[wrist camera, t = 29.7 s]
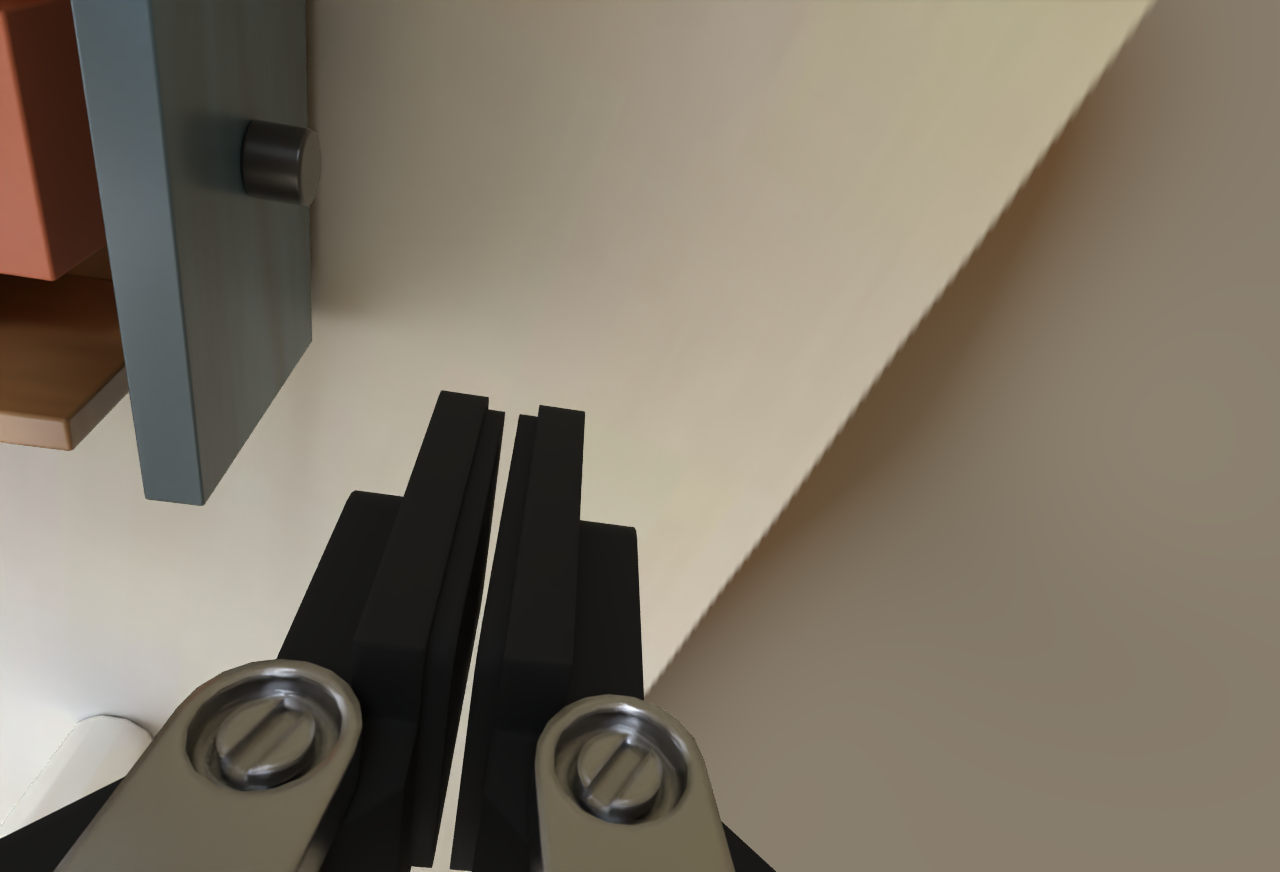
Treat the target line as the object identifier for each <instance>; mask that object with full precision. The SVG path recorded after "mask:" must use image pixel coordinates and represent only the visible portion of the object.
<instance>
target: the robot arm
mask: <svg viewBox="0 0 1280 872" xmlns="http://www.w3.org/2000/svg"><path fill="white" fill-rule="evenodd" d="M488 404H489V397H483V396H476V395H470V394H463V393H456V392H449V391H441V392H440V395H439V397H438V400H437V403H436V406H435V409H434V412H433V414H432V417H431V420H430V423H429V426H428V429H427V431H426V434H425V437H424V440H423V443H422V446H421V449H420V451H419V454H418V457H417V460H416V463H415V466H414V468H413V471H412V474H411V477H410V480H409V483H408V485H407V488H406V491H405V494H404V497H401V496H393V495H386V494H378V493H371V492H363V491H356V490H355V491H354V492H352V493H351V494H350V496H349V498H348V500H347V502H346V504H345V506H344V508H343V511H342V513H341V515H340V517H339V520H338V522H337V524H336V526H335V529H334V531H333V533H332V535H331V538H330V540H329V542H328V544H327V546H326V549H325V551H324V553H323V555H322V558H321V560H320V562H319V564H318V567H317V569H316V571H315V573H314V576H313V578H312V580H311V582H310V585H309V587H308V589H307V591H306V594H305V596H304V598H303V600H302V603H301V605H300V607H299V609H298V612H297V614H296V616H295V618H294V621H293V623H292V625H291V627H290V630H289V632H288V634H287V636H286V639H285V641H284V643H283V645H282V648H281V650H280V652H279V654H278V657H277V659H275V660H266V661H258V662H251V663H248V664H245V665H242V666H239V667H236V668H233V669H230V670H227V671H224V672H222V673H221V674H219V675H217V676H216V677H214V678H212V679H211V680H209V681H207V682H206V683H204V684H202V685H201V686H199V687H197V688H196V689H195V690H194V691H193V692H192V693H191V694H190V695H189V696H188V697H187V698H186V699H185V700H184V701H183V702H182V703H181V704H180V705H179V706H178V707H177V709H176V710H175V711H174V713H173V714H172V715H171V716H170V718H169V719H168V720H167V722H166V723H165V724H164V726H163V727H162V728H161V730H160V731H159V732H158V734H157V735H156V736H155V738H154V739H153V740H152V742H151V743H150V744H149V746H148V747H147V748H146V750H145V751H144V752H143V754H142V755H141V756H140V757H139V759H138V760H137V761H136V763H135V764H134V765H133V767H132V768H131V769H130V771H129V772H128V773H127V775H126V776H125V777H123V778H121V779H119V780H117V781H115V782H113V783H111V784H109V785H107V786H105V787H103V788H101V789H99V790H97V791H95V792H93V793H91V794H89V795H87V796H85V797H83V798H81V799H79V800H77V801H75V802H73V803H71V804H69V805H67V806H65V807H63V808H61V809H59V810H57V811H55V812H53V813H51V814H49V815H47V816H45V817H43V818H41V819H39V820H36V821H34V822H32V823H30V824H28V825H26V826H24V827H22V828H20V829H18V830H16V831H14V832H12V833H10V834H8V835H6V836H4V837H2V838H0V872H410V870H411V866H414V867H427V868H432V865H433V861H434V856H435V851H436V845H437V840H438V835H439V829H440V824H441V818H442V813H443V808H444V802H445V797H446V791H447V786H448V781H449V775H450V770H451V764H452V759H453V754H454V748H455V743H456V738H457V732H458V727H459V721H460V716H461V711H462V705H463V700H464V694H465V689H466V684H467V678H468V673H469V667H470V662H471V657H472V651H473V646H474V640H475V635H476V630H477V624H478V619H479V613H480V608H481V601H482V595H483V588H484V580H485V572H486V564H487V556H488V548H489V540H490V532H491V524H492V516H493V508H494V500H495V492H496V484H497V476H498V468H499V459H500V451H501V443H502V435H503V427H504V419H505V412H501V411H495V410H488ZM584 424H585V412H584V411H577V410H571V409H564V408H557V407H550V406H544V405H540V406H539V412H538V417H535V416H529V415H522V414H520V415H519V420H518V426H517V432H516V437H515V443H514V448H513V454H512V460H511V465H510V471H509V476H508V482H507V487H506V493H505V499H504V504H503V510H502V515H501V521H500V527H499V532H498V538H497V543H496V549H495V554H494V560H493V566H492V571H491V577H490V582H489V588H488V594H487V599H486V605H485V610H484V616H483V622H482V627H481V633H480V639H479V645H478V652H477V658H476V665H475V672H474V680H473V687H472V695H471V703H470V711H469V719H468V727H467V735H466V743H465V751H464V759H463V767H462V775H461V783H460V791H459V799H458V807H457V815H456V823H455V831H454V839H453V847H452V855H451V863H450V869H452V870H464V871H472V872H776V871H775V870H774V869H773V868H772V867H770V866H769V865H768V864H767V863H766V862H765V861H764V860H763V859H762V858H761V857H760V856H759V855H757V854H756V853H755V852H754V851H753V850H752V849H751V848H750V847H749V846H748V845H747V844H745V843H744V842H743V841H742V840H741V839H740V838H739V837H738V836H737V835H736V834H734V833H733V832H732V831H731V830H730V829H729V828H728V827H727V826H726V825H725V824H724V823H723V822H722V821H721V819H720V815H719V812H718V808H717V804H716V801H715V797H714V794H713V790H712V786H711V783H710V779H709V776H708V772H707V768H706V765H705V761H704V759H703V756H702V754H701V752H700V750H699V748H698V746H697V743H696V741H695V739H694V738H693V737H692V735H691V734H690V733H689V732H688V731H687V730H686V729H685V727H684V726H683V725H682V724H681V723H680V721H679V720H677V719H676V718H674V717H673V716H671V715H670V714H669V713H667V712H666V711H664V710H663V709H661V708H660V707H658V706H657V705H654V704H651V703H649V702H646V701H644V689H643V666H642V643H641V619H640V596H639V573H638V550H637V535H636V530H635V528H634V527H627V526H620V525H612V524H605V523H597V522H590V521H582V520H580V505H581V484H582V464H583V444H584Z"/></svg>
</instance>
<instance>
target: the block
mask: <svg viewBox="0 0 1280 872" xmlns="http://www.w3.org/2000/svg"><path fill="white" fill-rule="evenodd" d="M106 244H107V241H106V234H105V227H104V221H103V214H102V207H101V201H100V194H99V187H98V181H97V174H96V168H95V161H94V154H93V148H92V141H91V134H90V128H89V121H88V114H87V108H86V101H85V94H84V88H83V81H82V74H81V68H80V61H79V55H78V48H77V41H76V35H75V28H74V21H73V15H72V8H71V1H70V0H0V273H1V274H8V275H15V276H21V277H28V278H35V279H42V280H48V281H54V280H57V279H58V278H59V277H61V276H62V275H64V274H65V273H67V272H68V271H69V270H71V269H72V268H74V267H75V266H76V265H78V264H79V263H81V262H82V261H84V260H85V259H86V258H88V257H89V256H91V255H92V254H94V253H95V252H96V251H98V250H99V249H101V248H102V247H103V246H105V245H106Z"/></svg>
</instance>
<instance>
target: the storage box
mask: <svg viewBox="0 0 1280 872" xmlns="http://www.w3.org/2000/svg"><path fill="white" fill-rule="evenodd" d="M70 1H71V8H72V15H73V21H74V28H75V35H76V41H77V48H78V55H79V61H80V68H81V74H82V81H83V88H84V94H85V101H86V108H87V114H88V121H89V128H90V134H91V141H92V148H93V154H94V161H95V168H96V174H97V181H98V187H99V194H100V201H101V207H102V214H103V221H104V227H105V234H106V241H107V244H106V245H105V246H103V247H102V248H101V249H99V250H98V251H96V252H95V253H94V254H92V255H91V256H89V257H88V258H86V259H85V260H84V261H82V262H81V263H79V264H78V265H76V266H75V267H74V268H72V269H71V270H69V271H68V272H67V273H65V274H64V275H62V276H61V277H59V278H58V279H57V280H54V281H48V280H42V279H35V278H28V277H21V276H15V275H8V274H1V273H0V442H2V443H10V444H18V445H26V446H34V447H42V448H50V449H58V450H66V451H70V450H73V449H74V448H75V447H76V446H77V445H78V444H79V443H80V442H81V441H82V440H83V439H84V438H85V437H86V436H87V435H88V434H89V433H90V432H91V431H92V430H93V429H94V427H95V426H96V425H97V424H98V423H99V422H100V421H101V420H102V419H103V418H104V417H105V416H106V415H107V414H108V413H109V412H110V411H111V410H112V409H113V408H114V407H115V406H116V404H117V403H118V402H119V401H120V400H121V399H122V398H123V397H124V396H125V395H126V394H127V393H128V392H129V393H130V400H131V407H132V413H133V420H134V427H135V433H136V440H137V447H138V453H139V460H140V467H141V473H142V480H143V486H144V493H145V498H146V499H149V500H157V501H165V502H174V503H182V504H190V505H198V506H203V505H205V503H206V501H207V500H208V498H209V497H210V495H211V494H212V492H213V491H214V489H215V488H216V486H217V485H218V483H219V482H220V480H221V479H222V477H223V476H224V474H225V473H226V471H227V470H228V468H229V466H230V465H231V463H232V462H233V460H234V459H235V457H236V456H237V454H238V453H239V451H240V450H241V448H242V447H243V445H244V444H245V442H246V441H247V439H248V438H249V436H250V434H251V433H252V431H253V430H254V428H255V427H256V425H257V424H258V422H259V421H260V419H261V418H262V416H263V415H264V413H265V412H266V410H267V409H268V407H269V406H270V404H271V403H272V401H273V399H274V398H275V396H276V395H277V393H278V392H279V390H280V389H281V387H282V386H283V384H284V383H285V381H286V380H287V378H288V377H289V375H290V374H291V372H292V371H293V369H294V367H295V366H296V364H297V363H298V361H299V360H300V358H301V357H302V355H303V354H304V352H305V351H306V349H307V348H308V346H309V345H310V343H311V341H312V319H311V269H310V220H309V205H310V204H311V203H312V202H313V200H314V198H315V196H316V193H317V190H318V186H319V181H320V174H321V150H320V144H319V140H318V136H317V134H316V133H315V132H314V131H313V130H311V129H309V128H308V121H307V72H306V22H305V0H70Z"/></svg>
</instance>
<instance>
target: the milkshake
mask: <svg viewBox="0 0 1280 872" xmlns="http://www.w3.org/2000/svg"><path fill="white" fill-rule="evenodd" d="M151 742H152V738H151V736H150V734H149V732H148V731H146V730H145V729H143V728H141V727H140V726H138V725H136V724H135V723H133V722H131V721H130V720H128V719H123V718H117V717H110V716H104V715H99V716H95V717H92V718H89V719H85V720H81V721H79V722H77V724H76V725H75V726H74V727H73V729H72V730H71V731H70V733H69V734H68V735H67V737H66V738H65V739H64V741H63V742H62V743H61V745H60V746H59V747H58V749H57V750H56V751H55V753H54V754H53V755H52V757H51V758H50V759H49V761H48V762H47V763H46V765H45V766H44V767H43V769H42V770H41V772H40V773H39V774H38V776H37V777H36V778H35V780H34V781H33V782H32V784H31V785H30V786H29V788H28V789H27V790H26V792H25V793H24V794H23V796H22V797H21V798H20V800H19V801H18V802H17V804H16V805H15V806H14V808H13V809H12V810H11V812H10V813H9V814H8V816H7V817H6V818H5V819H4V821H3V822H2V823H1V825H0V838H2V837H4V836H6V835H8V834H10V833H12V832H14V831H16V830H18V829H20V828H22V827H24V826H26V825H28V824H30V823H32V822H34V821H36V820H39V819H41V818H43V817H45V816H47V815H49V814H51V813H53V812H55V811H57V810H59V809H61V808H63V807H65V806H67V805H69V804H71V803H73V802H75V801H77V800H79V799H81V798H83V797H85V796H87V795H89V794H91V793H93V792H95V791H97V790H99V789H101V788H103V787H105V786H107V785H109V784H111V783H113V782H115V781H117V780H119V779H121V778H123V777H125V776H126V775H127V773H128V772H129V771H130V769H131V768H132V767H133V765H134V764H135V763H136V761H137V760H138V759H139V757H140V756H141V755H142V754H143V752H144V751H145V750H146V748H147V747H148V746H149V744H150V743H151Z"/></svg>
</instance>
